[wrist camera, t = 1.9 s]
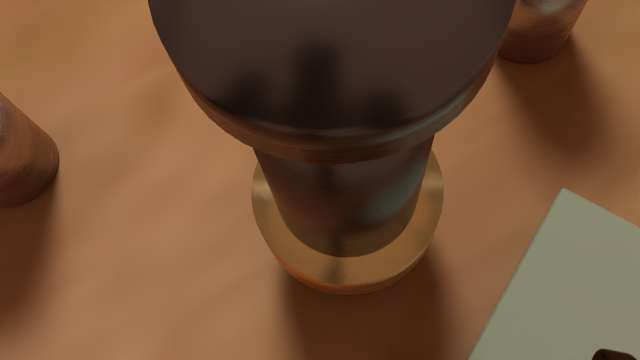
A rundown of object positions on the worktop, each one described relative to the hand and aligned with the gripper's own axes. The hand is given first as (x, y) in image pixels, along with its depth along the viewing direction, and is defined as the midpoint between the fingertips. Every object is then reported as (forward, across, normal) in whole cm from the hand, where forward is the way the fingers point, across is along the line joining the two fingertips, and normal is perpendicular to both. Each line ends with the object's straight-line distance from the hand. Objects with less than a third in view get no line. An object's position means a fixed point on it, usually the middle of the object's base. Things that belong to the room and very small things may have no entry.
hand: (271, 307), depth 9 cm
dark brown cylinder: (+11, 0, +5) cm, 12 cm away
